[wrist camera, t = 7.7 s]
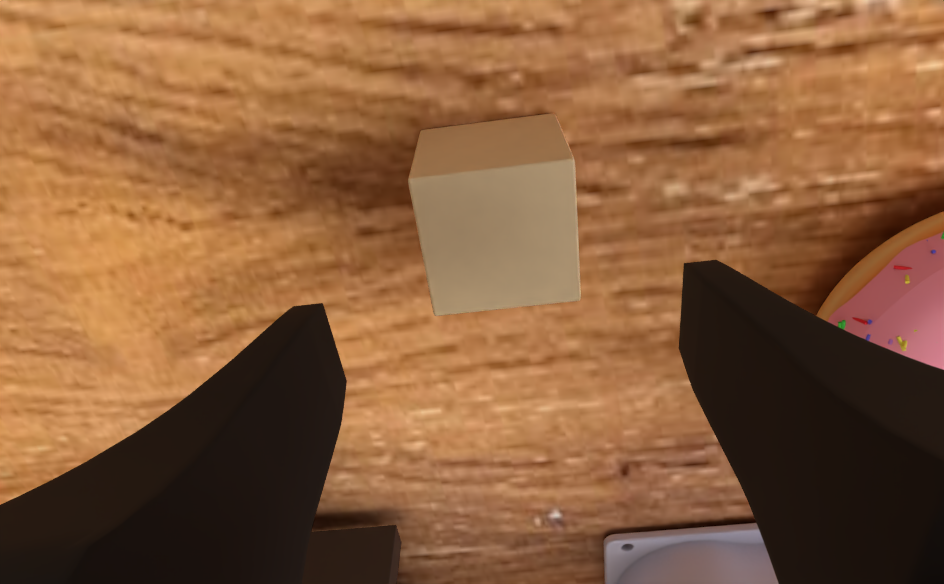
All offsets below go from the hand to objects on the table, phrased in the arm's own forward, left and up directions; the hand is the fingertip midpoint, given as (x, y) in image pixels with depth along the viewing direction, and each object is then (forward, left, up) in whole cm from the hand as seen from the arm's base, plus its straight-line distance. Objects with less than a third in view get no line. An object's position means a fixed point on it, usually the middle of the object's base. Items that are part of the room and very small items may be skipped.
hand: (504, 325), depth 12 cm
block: (0, 0, -8) cm, 8 cm away
